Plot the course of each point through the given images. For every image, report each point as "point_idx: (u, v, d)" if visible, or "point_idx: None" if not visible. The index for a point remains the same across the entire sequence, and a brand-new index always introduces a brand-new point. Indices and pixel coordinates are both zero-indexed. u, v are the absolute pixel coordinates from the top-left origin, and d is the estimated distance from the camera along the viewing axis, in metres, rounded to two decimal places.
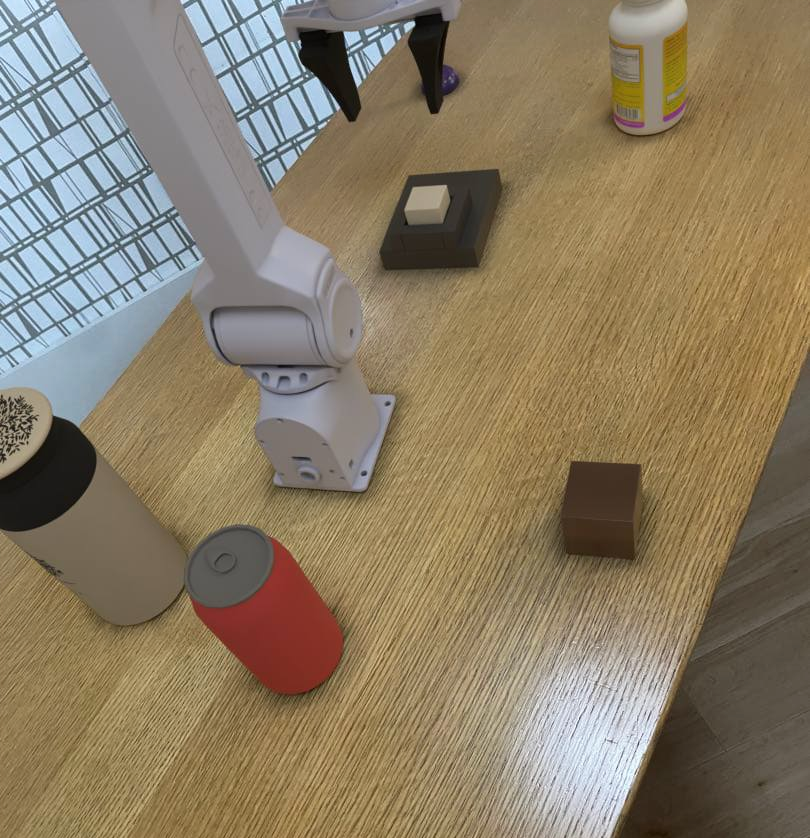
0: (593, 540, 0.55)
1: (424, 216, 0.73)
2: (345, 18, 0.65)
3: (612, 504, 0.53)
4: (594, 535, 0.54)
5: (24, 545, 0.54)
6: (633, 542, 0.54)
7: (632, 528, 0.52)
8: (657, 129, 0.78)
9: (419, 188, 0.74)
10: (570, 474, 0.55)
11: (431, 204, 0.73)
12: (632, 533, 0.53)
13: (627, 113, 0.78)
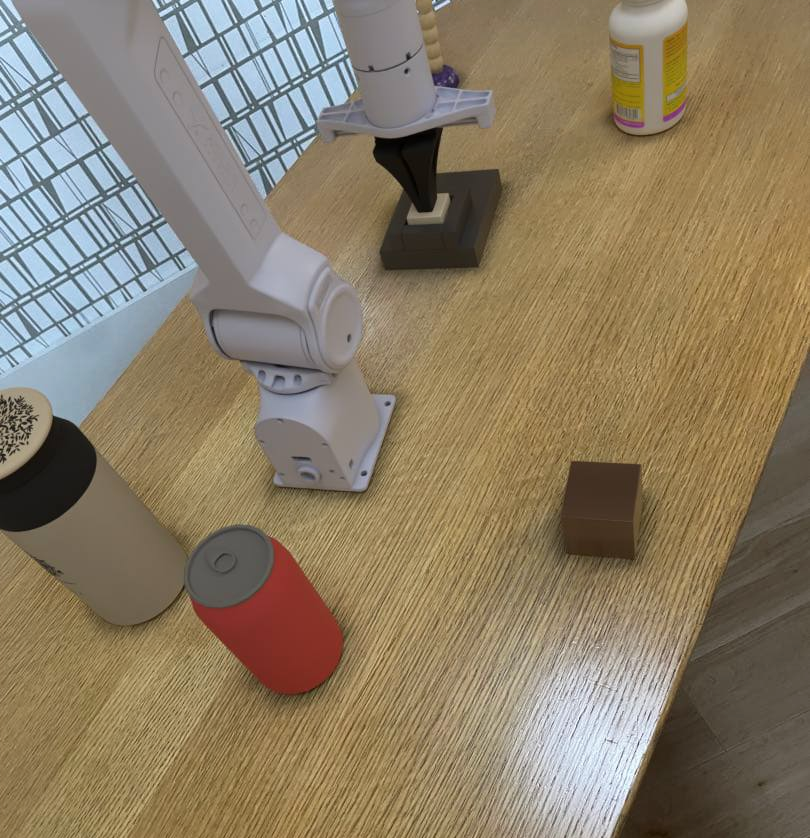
0: (593, 540, 0.55)
1: None
2: (382, 126, 0.65)
3: (612, 504, 0.53)
4: (594, 535, 0.54)
5: (24, 545, 0.54)
6: (633, 542, 0.54)
7: (632, 528, 0.52)
8: (657, 129, 0.78)
9: None
10: (570, 474, 0.55)
11: (433, 212, 0.73)
12: (632, 533, 0.53)
13: (627, 113, 0.78)
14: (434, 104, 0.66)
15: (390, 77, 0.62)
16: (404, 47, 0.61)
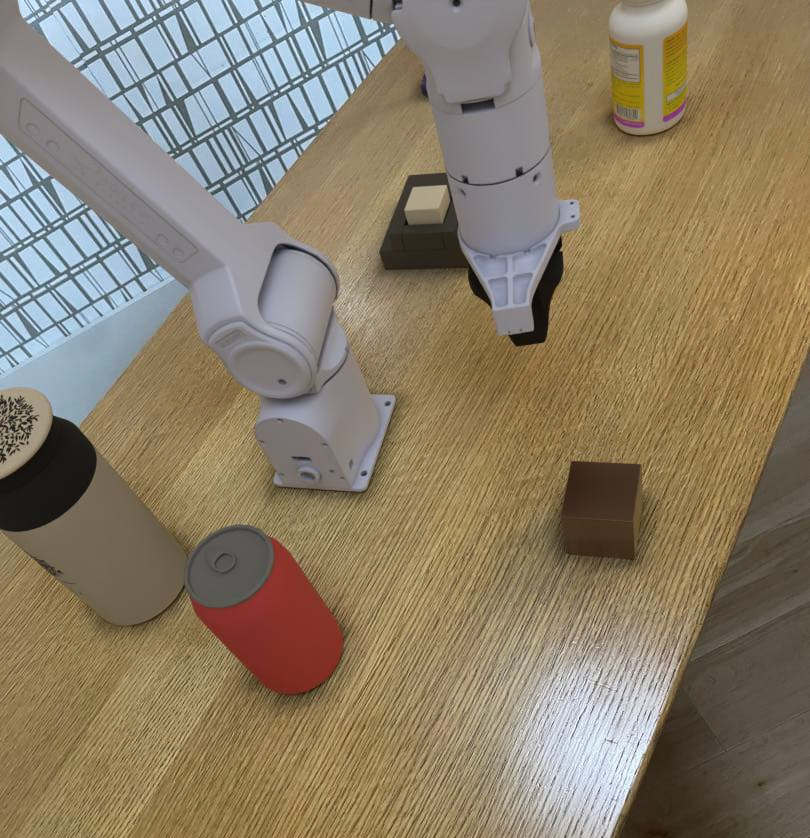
0: (593, 540, 0.55)
1: (424, 216, 0.73)
2: None
3: (612, 504, 0.53)
4: (594, 535, 0.54)
5: (24, 545, 0.54)
6: (633, 542, 0.54)
7: (632, 528, 0.52)
8: (657, 129, 0.78)
9: (419, 188, 0.74)
10: (570, 474, 0.55)
11: (431, 204, 0.73)
12: (632, 533, 0.53)
13: (627, 113, 0.78)
14: (505, 254, 0.47)
15: (449, 181, 0.46)
16: (460, 167, 0.43)
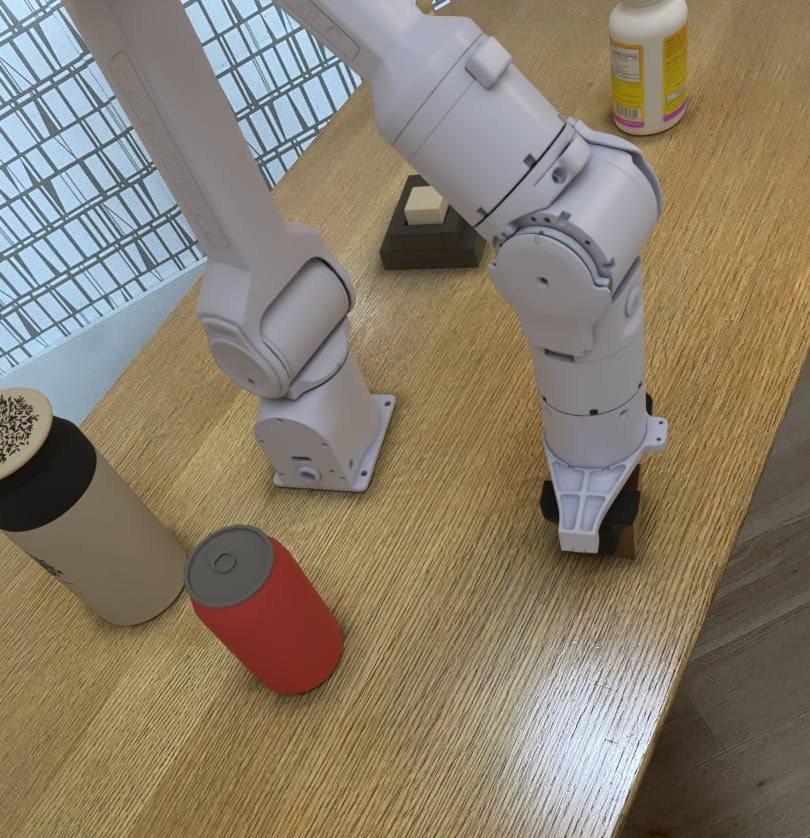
0: None
1: (424, 216, 0.73)
2: None
3: None
4: None
5: (24, 545, 0.54)
6: (633, 542, 0.54)
7: (632, 527, 0.52)
8: (657, 129, 0.78)
9: (419, 188, 0.74)
10: None
11: (431, 204, 0.73)
12: (632, 532, 0.53)
13: (627, 113, 0.78)
14: (583, 467, 0.47)
15: (538, 394, 0.46)
16: (541, 387, 0.44)
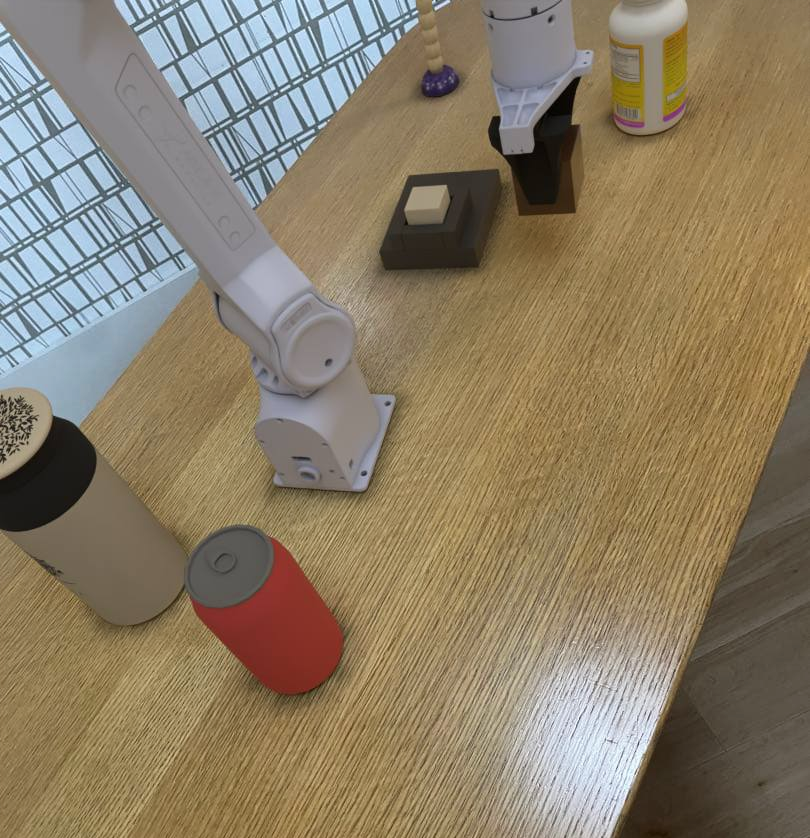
0: None
1: (424, 216, 0.73)
2: None
3: None
4: None
5: (24, 545, 0.54)
6: (572, 189, 0.63)
7: (570, 170, 0.62)
8: (657, 129, 0.78)
9: (419, 188, 0.74)
10: None
11: (431, 204, 0.73)
12: (571, 177, 0.62)
13: (627, 113, 0.78)
14: (522, 88, 0.57)
15: (483, 18, 0.55)
16: (530, 0, 0.52)
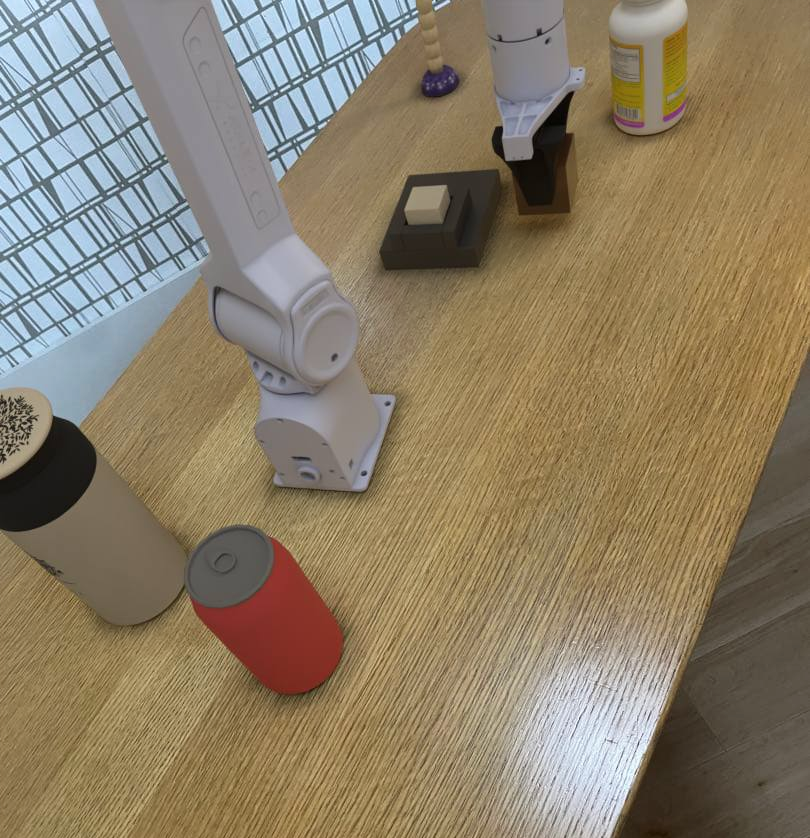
0: None
1: (424, 216, 0.73)
2: None
3: None
4: None
5: (24, 545, 0.54)
6: (567, 191, 0.70)
7: (565, 174, 0.68)
8: (657, 129, 0.78)
9: (419, 188, 0.74)
10: None
11: (431, 204, 0.73)
12: (566, 180, 0.69)
13: (627, 113, 0.78)
14: (522, 101, 0.64)
15: (487, 39, 0.62)
16: (536, 22, 0.59)
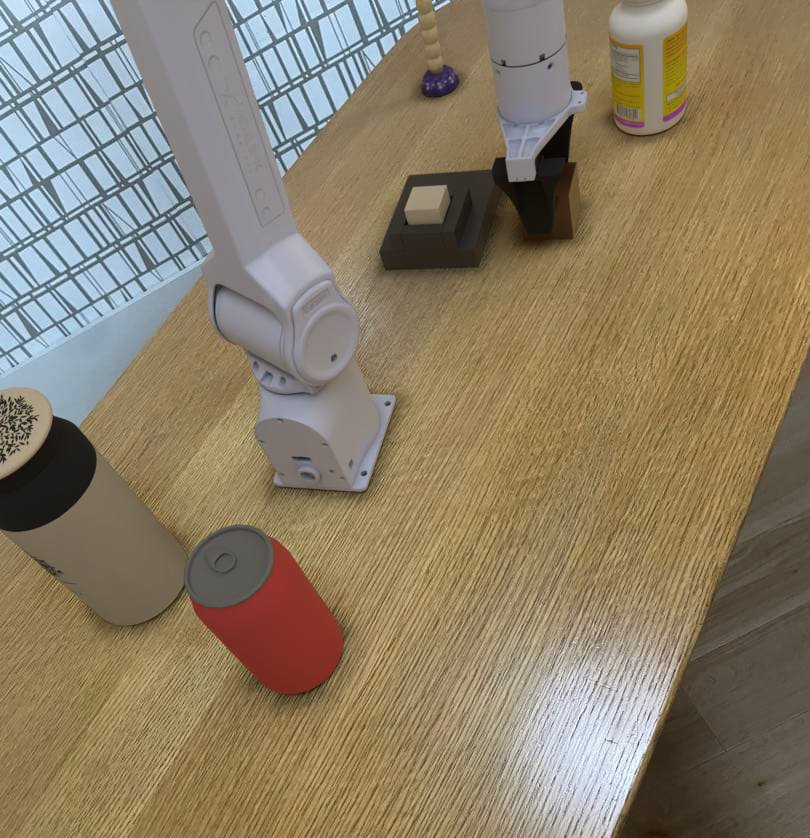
0: None
1: (424, 216, 0.73)
2: None
3: None
4: None
5: (24, 545, 0.54)
6: (570, 219, 0.72)
7: (568, 202, 0.71)
8: (657, 129, 0.78)
9: (419, 188, 0.74)
10: None
11: (431, 204, 0.73)
12: (569, 208, 0.71)
13: (627, 113, 0.78)
14: (525, 124, 0.65)
15: (491, 64, 0.64)
16: (539, 48, 0.60)
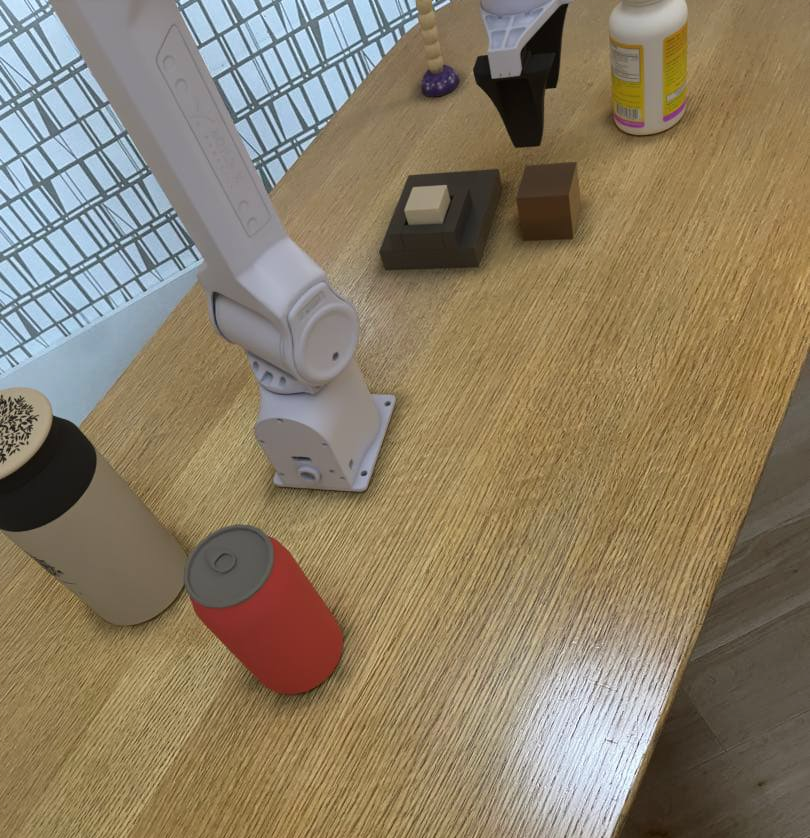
0: (541, 222, 0.73)
1: (424, 216, 0.73)
2: None
3: (554, 186, 0.71)
4: (541, 215, 0.72)
5: (24, 545, 0.54)
6: (570, 219, 0.72)
7: (568, 202, 0.71)
8: (657, 129, 0.78)
9: (419, 188, 0.74)
10: (524, 173, 0.73)
11: (431, 204, 0.73)
12: (569, 208, 0.71)
13: (627, 113, 0.78)
14: (510, 15, 0.58)
15: None
16: None
